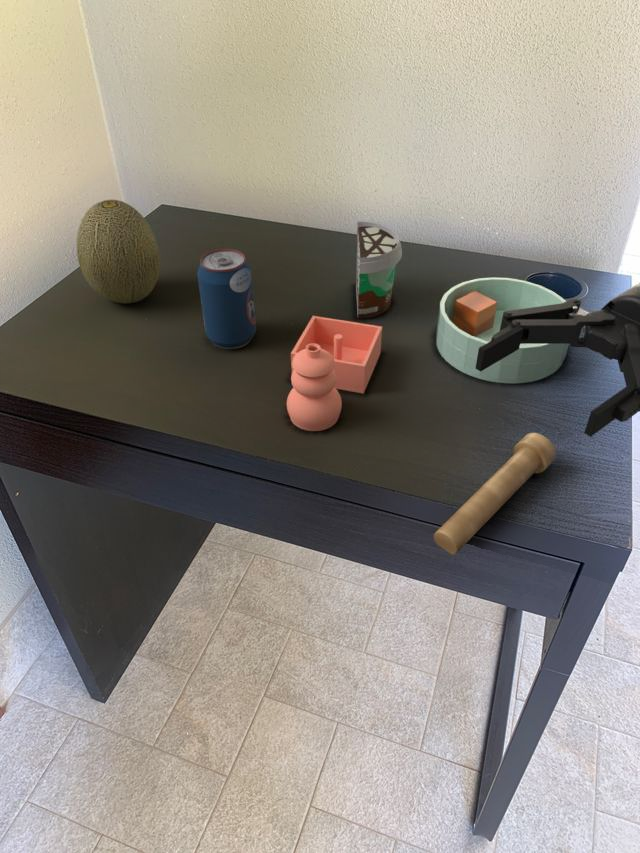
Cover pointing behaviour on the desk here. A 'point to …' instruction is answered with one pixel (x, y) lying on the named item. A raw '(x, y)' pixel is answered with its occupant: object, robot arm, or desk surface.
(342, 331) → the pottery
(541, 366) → the bowl
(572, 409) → the desk surface
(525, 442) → the pestle
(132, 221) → the fruit
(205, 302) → the soda can
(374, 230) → the food container
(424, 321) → the desk surface
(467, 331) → the block
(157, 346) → the desk surface
